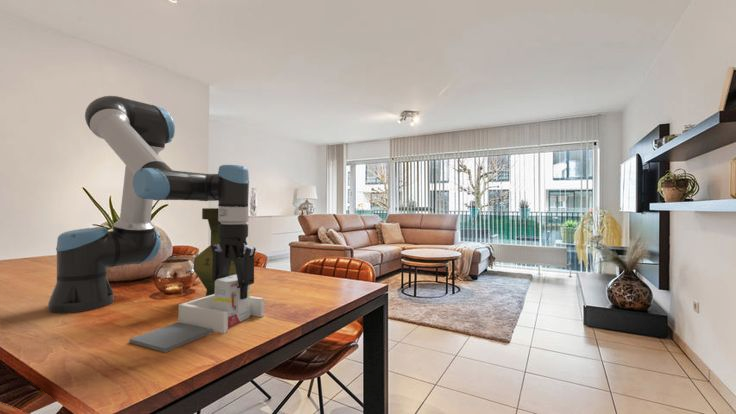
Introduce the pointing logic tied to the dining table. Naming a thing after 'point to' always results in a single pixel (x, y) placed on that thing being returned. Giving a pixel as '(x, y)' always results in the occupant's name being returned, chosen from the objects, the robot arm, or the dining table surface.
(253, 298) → the frame
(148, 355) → the dining table surface
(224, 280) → the ink box
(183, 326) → the stand pad
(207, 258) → the vase
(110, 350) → the dining table surface
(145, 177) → the robot arm
